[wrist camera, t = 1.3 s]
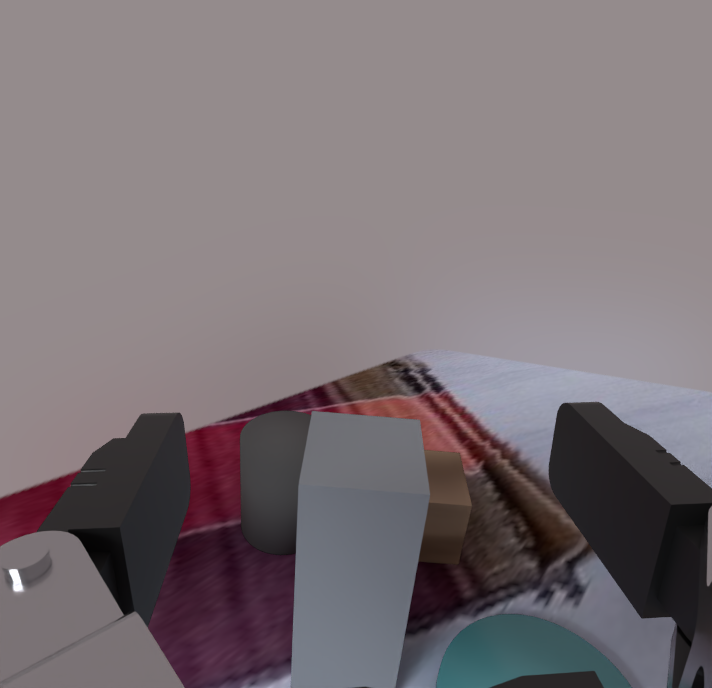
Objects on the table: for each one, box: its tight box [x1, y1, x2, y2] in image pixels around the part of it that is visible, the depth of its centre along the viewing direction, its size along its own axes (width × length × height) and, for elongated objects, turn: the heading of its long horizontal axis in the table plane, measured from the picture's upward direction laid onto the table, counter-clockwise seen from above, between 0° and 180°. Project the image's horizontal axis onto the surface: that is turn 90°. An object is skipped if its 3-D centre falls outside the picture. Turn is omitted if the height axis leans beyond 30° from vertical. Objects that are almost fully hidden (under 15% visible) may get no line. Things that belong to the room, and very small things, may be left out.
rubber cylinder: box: [240, 411, 311, 555], centre depth 34 cm, size 6×6×7 cm
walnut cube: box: [418, 450, 472, 565], centre depth 35 cm, size 5×5×5 cm
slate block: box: [291, 411, 430, 688], centre depth 25 cm, size 5×5×13 cm
